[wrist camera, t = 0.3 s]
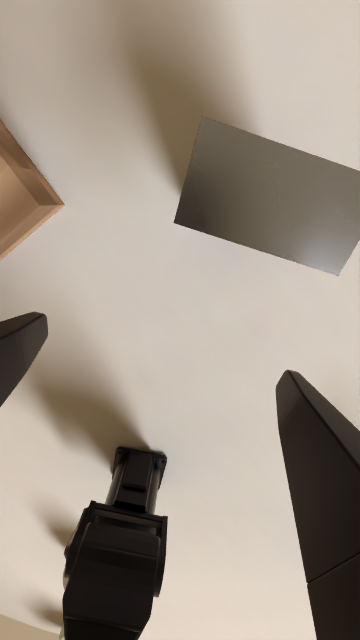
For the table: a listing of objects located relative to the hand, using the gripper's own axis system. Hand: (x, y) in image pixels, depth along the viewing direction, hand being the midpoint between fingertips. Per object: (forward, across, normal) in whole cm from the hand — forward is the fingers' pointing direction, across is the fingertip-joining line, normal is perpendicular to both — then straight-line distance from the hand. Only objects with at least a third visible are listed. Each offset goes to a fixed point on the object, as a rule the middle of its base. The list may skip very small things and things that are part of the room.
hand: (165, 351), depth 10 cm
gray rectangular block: (+15, -2, -4) cm, 15 cm away
